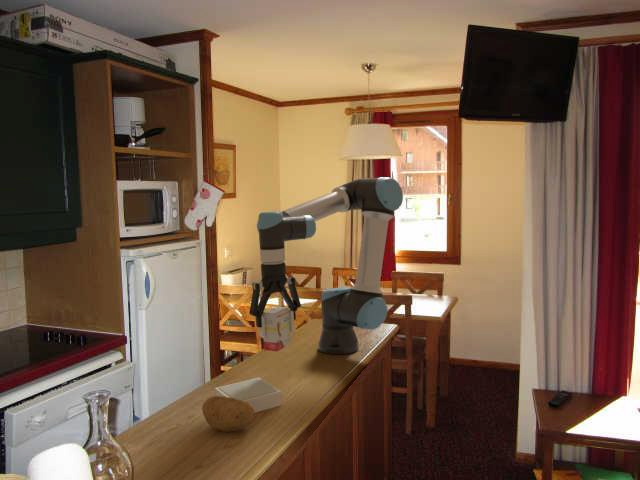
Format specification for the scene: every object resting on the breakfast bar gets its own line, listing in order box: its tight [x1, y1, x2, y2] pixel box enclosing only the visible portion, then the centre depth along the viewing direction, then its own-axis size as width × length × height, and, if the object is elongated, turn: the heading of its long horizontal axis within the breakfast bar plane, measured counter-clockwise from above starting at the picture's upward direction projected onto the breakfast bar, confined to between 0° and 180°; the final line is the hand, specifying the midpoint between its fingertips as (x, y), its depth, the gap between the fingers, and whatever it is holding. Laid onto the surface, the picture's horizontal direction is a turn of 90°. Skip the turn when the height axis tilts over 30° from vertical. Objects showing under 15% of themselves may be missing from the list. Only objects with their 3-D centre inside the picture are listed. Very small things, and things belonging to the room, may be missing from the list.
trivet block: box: [214, 377, 283, 414], centre depth 150 cm, size 14×14×4 cm
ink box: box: [262, 306, 292, 352], centre depth 163 cm, size 9×5×12 cm, turn 151°
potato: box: [201, 396, 255, 433], centre depth 134 cm, size 10×14×8 cm
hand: (277, 333), depth 163 cm, fingers closed on ink box, 9 cm apart
